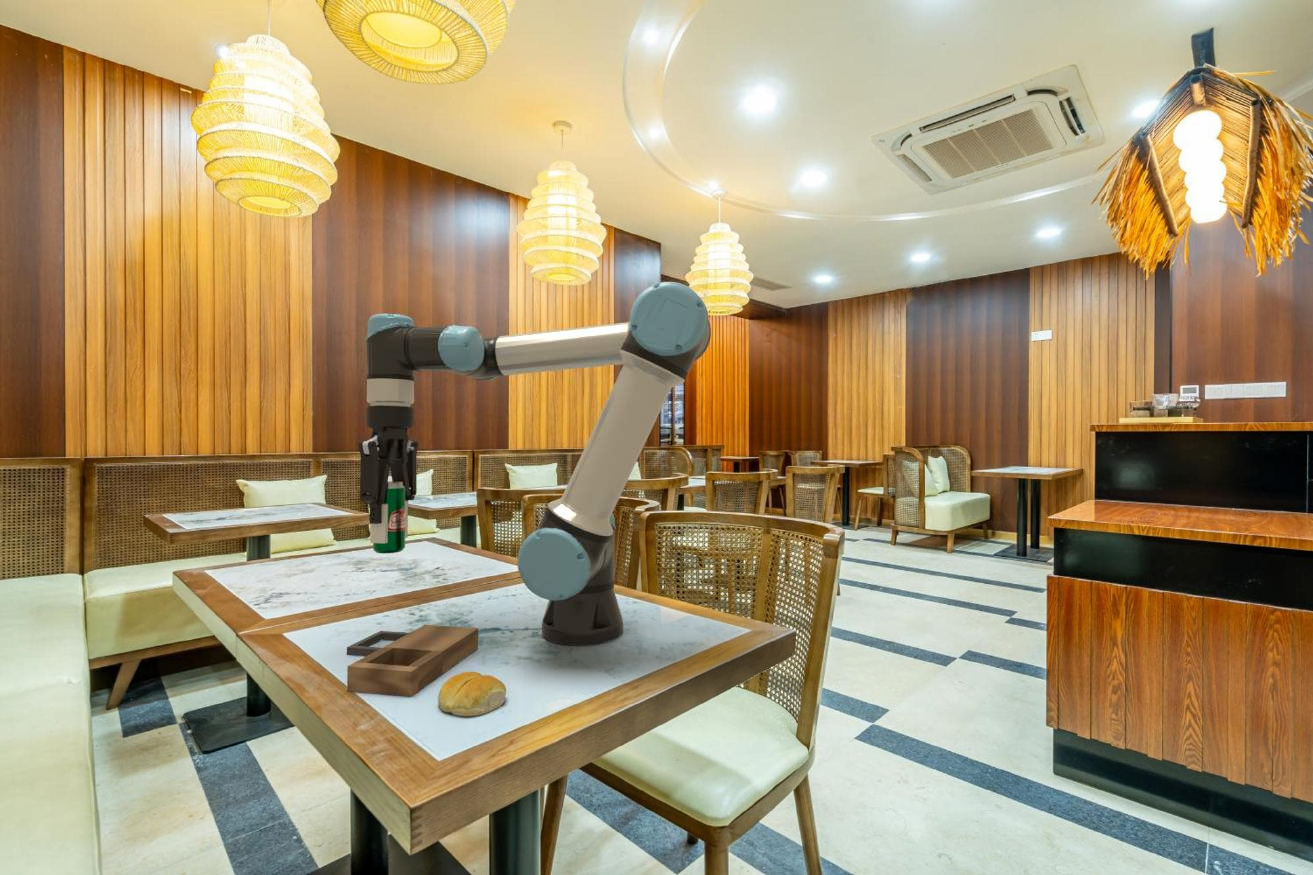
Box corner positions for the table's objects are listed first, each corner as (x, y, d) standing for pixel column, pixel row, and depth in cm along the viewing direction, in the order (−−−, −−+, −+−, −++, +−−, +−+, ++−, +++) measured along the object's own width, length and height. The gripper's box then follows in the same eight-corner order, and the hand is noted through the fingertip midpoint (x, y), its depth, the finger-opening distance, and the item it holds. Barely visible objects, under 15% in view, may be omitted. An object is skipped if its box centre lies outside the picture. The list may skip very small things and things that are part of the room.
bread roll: (471, 686, 89) (472, 659, 89) (515, 701, 84) (516, 672, 84) (423, 707, 82) (423, 677, 82) (467, 724, 77) (468, 693, 77)
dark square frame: (425, 640, 108) (426, 633, 108) (395, 658, 99) (395, 651, 99) (380, 637, 110) (380, 630, 110) (346, 654, 101) (346, 647, 101)
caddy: (478, 648, 104) (478, 628, 104) (411, 696, 84) (411, 671, 84) (424, 644, 106) (425, 624, 106) (347, 690, 86) (347, 666, 86)
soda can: (392, 554, 101) (393, 483, 102) (366, 553, 102) (366, 482, 103) (411, 549, 106) (411, 481, 106) (385, 548, 107) (386, 480, 108)
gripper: (401, 408, 114) (401, 531, 114) (334, 402, 96) (333, 548, 96) (438, 408, 113) (437, 533, 113) (376, 401, 95) (375, 550, 95)
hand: (389, 539), depth 104 cm, fingers closed on soda can, 5 cm apart
